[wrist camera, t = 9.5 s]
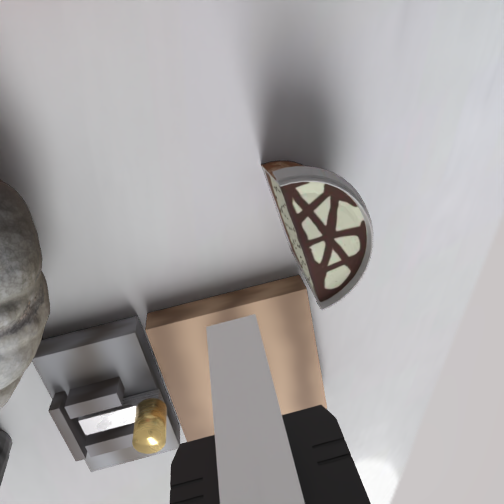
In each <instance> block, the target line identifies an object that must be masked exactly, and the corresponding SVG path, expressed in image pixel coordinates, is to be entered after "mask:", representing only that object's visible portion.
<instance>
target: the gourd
mask: <svg viewBox="0 0 504 504" xmlns="http://www.w3.org/2000/svg"><path fill="white" fill-rule="evenodd" d="M41 268H42V254H41V248H40V245H39V239H38V234H37V231H36V228H35V225H34V222H33V220H32V217H31V214H30V211H29V209H28V207H27V205H26V203H25V202H24V200H23V199H22V197H21V196H20V195H19V194H18V193H17V192H16V191H15V190H14V189H13V188H12V187H11V186H9V185H7V184H6V183H4V182H2V181H1V180H0V409H1V408H2V407H3V406H4V405H5V404H6V403H7V401H8V400H9V398H10V397H11V395H12V393H13V391H14V390H15V388H16V386H17V385H18V383H19V381H20V379H21V377H22V375H23V373H24V371H25V370H26V369H27V367H28V366H29V365H30V363H31V362H32V360H33V358H34V356H35V354H36V352H37V349H38V347H39V344H40V342H41V339H42V335H43V332H44V328H45V324H46V322H47V319H48V317H49V314H50V303H49V294H48V288H47V283H46V279H45V276H44V274H43V272H42V271H41Z"/></svg>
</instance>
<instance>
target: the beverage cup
mask: <svg viewBox="0 0 504 504" xmlns="http://www.w3.org/2000/svg"><path fill="white" fill-rule="evenodd" d="M11 446H12V440H11V438H10V436H9V435H8V434H7V433H5V432H4V431H3V430H0V485H1V482H2V479H3V476H4V472H5V469H6V466H7V462H8V459H9V453H10V449H11Z"/></svg>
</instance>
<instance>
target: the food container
mask: <svg viewBox="0 0 504 504" xmlns="http://www.w3.org/2000/svg"><path fill="white" fill-rule="evenodd" d="M261 166H262V169H263V172H264V175H265V178H266V180H267V183H268V186H269V189H270V192H271V195H272V198H273V201H274V203H275V206H276V209H277V212H278V215H279V218H280V221H281V223H282V226H283V229H284V232H285V235H286V238H287V241H288V244H289V246H290V249H291V252H292V254H293V255H294V257H295V259H296V261H297V263H298V265H299V267H300V269H301V271H302V273H303V275H304V277H305V279H306V281H307V283H308V284H309V286H310V288H311V290H312V292H313V294H314V296H315V298H316V300H317V301H316V302H317V304H318V305H319V307H320V309H322V310H324V309H326V308H329V307H331V306H332V305H334V304H336V303H337V302H339V301H340V300H342V299H343V298H344V297H345V296H346V295H348V294H349V293H350V292H351V291H352V290H353V289H354V287H355V286H356V285H357V284H358V282H359V281H360V280H361V278H362V277H363V275H364V273H365V271H366V269H367V267H368V264H369V261H370V258H371V254H372V248H373V228H372V222H371V219H370V216H369V213H368V210H367V208H366V206H365V203H364V202H363V200H362V198H361V196H360V195H359V193H358V192H357V191H356V190H355V188H354V187H353V186H352V185H351V184H350V183H348V182H347V181H346V180H345V179H344V178H342V177H340V176H338V175H337V174H335V173H333V172H330V171H327V170H325V169H322V168H316V167H310V166H303V165H301V164H299V163H296V162H291V161H272V162H268V163H265V164H262V165H261Z"/></svg>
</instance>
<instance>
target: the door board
mask: <svg viewBox="0 0 504 504" xmlns="http://www.w3.org/2000/svg"><path fill="white" fill-rule="evenodd" d="M253 314H255V315H256V319H257V323H258V326H259V330H260V334H261V338H262V342H263V345H264V349H265V353H266V357H267V361H268V365H269V368H270V372H271V376H272V380H273V384H274V387H275V391H276V395H277V399H278V403H279V407H280V410H281V414H282V415H284V414H288V413H292V412H295V411H299V410H303V409H307V408H310V407H314V406H318V405H322V406H324V407H325V408H326V409H327V404H326V399H325V393H324V387H323V381H322V375H321V369H320V364H319V358H318V352H317V346H316V340H315V334H314V329H313V323H312V317H311V311H310V305H309V300H308V294H307V289H306V287H305V285H304V283H303V281H302V279H301V277H300V275H296V276H292V277H288V278H284V279H281V280H277V281H273V282H269V283H265V284H261V285H257V286H253V287H249V288H245V289H241V290H237V291H233V292H229V293H225V294H221V295H217V296H213V297H210V298H206V299H202V300H198V301H194V302H190V303H186V304H182V305H178V306H174V307H170V308H166V309H162V310H158V311H154V312H150V313H147V320H146V329H145V331H146V333H147V336H148V339H149V341H150V344H151V347H152V349H153V352H154V355H155V357H156V360H157V362H158V365H159V368H160V370H161V373H162V376H163V378H164V381H165V384H166V386H167V389H168V392H169V394H170V397H171V400H172V402H173V405H174V408H175V410H176V413H177V416H178V418H179V421H180V424H181V426H182V429H183V432H184V434H185V437H186V440H187V442H189V441H193V440H197V439H201V438H204V437H208V436H212V435H215V433H214V420H213V407H212V394H211V381H210V369H209V356H208V343H207V330H206V327H208V326H212V325H215V324H219V323H223V322H227V321H231V320H234V319H238V318H242V317H246V316H250V315H253ZM32 362H33V364H34V366H35V368H36V370H37V371H38V373H39V375H40V377H41V379H42V381H43V383H44V385H45V386H46V388H47V390H48V392H49V394H50V396H51V398H52V403H51V405H50V408H49V413H50V415H51V417H52V418H53V420H54V422H55V424H56V426H57V428H58V429H59V431H60V433H61V435H62V437H63V439H64V440H65V442H66V444H67V446H68V448H69V450H70V451H71V453H72V455H73V457H74V459H75V461H79V460H83V459H84V460H85V462H86V464H87V465H88V467H89V469H90V471H91V472H93V471H97V470H100V469H104V468H108V467H112V466H115V465H119V464H123V463H126V462H130V461H134V460H138V459H141V458H145V457H149V456H152V455H156V454H160V453H164V452H167V451H171V450H175V449H178V448H179V445H180V427H179V424H178V421H177V419H176V416H175V413H174V411H173V408H172V405H171V403H170V400H169V397H168V395H167V392H166V389H165V387H164V384H163V382H162V379H161V376H160V374H159V371H158V368H157V366H156V363H155V360H154V358H153V355H152V352H151V350H150V347H149V344H148V342H147V339H146V337H145V334H144V331H143V329H142V326H141V323H140V321H139V318H138V316H135V317H131V318H127V319H123V320H119V321H115V322H111V323H107V324H103V325H99V326H95V327H91V328H87V329H83V330H79V331H75V332H71V333H67V334H64V335H60V336H56V337H52V338H48V339H44V340H41V342H40V344H39V347H38V349H37V352H36V354H35V356H34V358H33V360H32ZM156 389H159V390H160V392H161V395H162V397H163V400H164V403H165V404H166V407H167V422H166V443H165V446H164V447H163V448H162V449H161V450H160V451H158V452H156V453H152V454H144V453H140V452H138V451H137V450H136V449H135V448H134V447H133V445H132V440H133V431H134V423H135V422H134V423H130V424H127V425H123V426H119V427H115V428H112V429H108V430H104V431H100V432H97V433H93V434H89V435H85V433H84V431H83V429H82V427H81V425H80V424H79V422H78V420H79V417H80V416H84V415H88V414H92V413H96V412H99V411H103V410H107V409H111V408H115V407H118V406H122V402H123V398H126V397H130V396H133V395H137V394H141V393H145V392H149V391H152V390H156Z"/></svg>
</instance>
